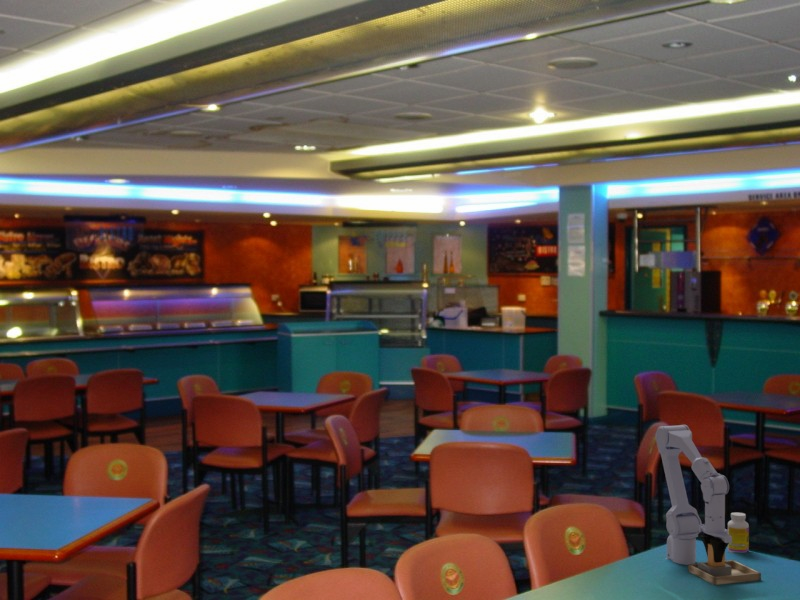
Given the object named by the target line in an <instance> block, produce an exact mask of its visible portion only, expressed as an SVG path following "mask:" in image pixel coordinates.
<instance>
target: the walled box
mask: <svg viewBox="0 0 800 600" xmlns="http://www.w3.org/2000/svg"><path fill="white" fill-rule="evenodd" d="M725 563H726V564H728V565H730V566H732V575H729V576H720V577H714V576H712V575H710V574H708V573H706V572H704V571H702V570H700V569H698V563H694V564H689V565H687V572H689V573H691V574H693V575H694V576H697V577H698V578H700V579H702V580H704V581H706V582H708V583H710V584H711V585H714V586H716V585H717V586H718V585H726V584H727V585H728V584H734V583H735V584H736V583H743V582H745V583H746V582H754V581H761V580H762V573H761V572H760V571H757V570H755V569H753V568H751V567H750V566H747V565H744V564H742V563H740V562H738V561H736V560H734V559H730V560H725Z"/></svg>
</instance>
